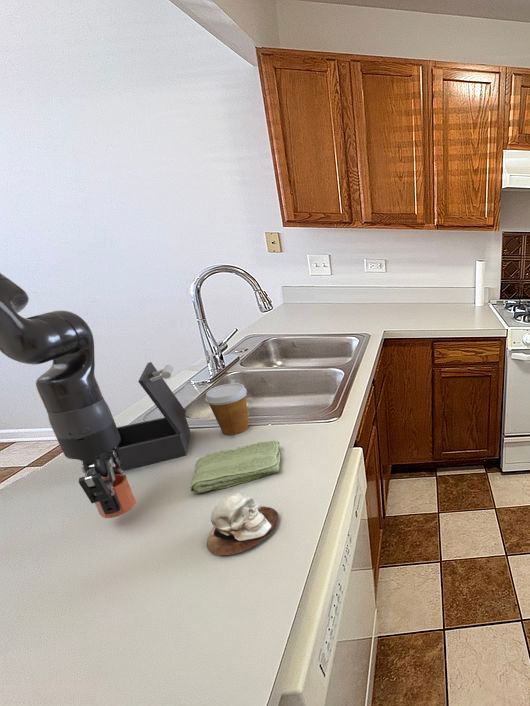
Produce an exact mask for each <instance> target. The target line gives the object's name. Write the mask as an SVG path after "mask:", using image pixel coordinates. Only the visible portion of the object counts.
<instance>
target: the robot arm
mask: <svg viewBox="0 0 530 706" xmlns="http://www.w3.org/2000/svg"><path fill="white" fill-rule="evenodd" d="M29 300H30V297H29V294H28V292H26V291H25V290H24V289H23V287H21V286H20V285H18V284H17V283H16V282H15V281H12V280H11V279H10V278H9V277H7V276H6V275H4V274H3V272H2V273H1V272H0V352H1V354H3V356H6V357H7V358H8V359H11V360H13V361H14V362H18V363H21V364H25V365H31V366H33V365H34V366H35V365H43V364H45V363H48V362H51V361H52V364H51V366H50V368H49V369H48V370H46V371H45V372H43V373H42V374H41V375H40V376H39V377H38V378H37V379H36V380H35V387H36V390H37V393H38V395H39V398H40V400H41V402H42V404H43V407H44V408H45V411H46V413H47V416H48V421H49V425H50V427H51V429H52V431H53V434H54V436H55V437H56V440H57V442H58V444H59V446H60V449H61V451H62V453H63V455H64V457H65V458H67V459H69V460H77V461H81V462H82V464H81V470H82V473H83V474H85V476H82V477H79V478H78V484H79V485H80V487H81V488H82V490H83V491H84V493H85V495H86V496H87V498H88V500H89V501H90V503H91V504H95V503H96V502H100V504H101V506H102V509H103V511H104V513H105V514H112V513H115V512H118V511H120V508H121V506H120V503H119V501H118V499H117V496H116V494H115V491H114V487H113V482H114V481H115V475H116V474H123V475H124V471H123V470H122V468H121V467H123V466H124V462H123V460H122V457H121V453H120V450H119V447H118V444H119V443H120V441H121V437H120V434H119V432H118V429H117V427H118V426H117V424H116V422H115V419H114V417H113V414H112V411H111V408H110V406H109V405H108V403H107V402H106V399H105V398H104V396H103V394H102V391H101V389H100V386H99V384H98V380H97V378H96V375H95V369H96V368H95V367H96V365H95V364H96V363H95V362H96V361H95V339H94V334H93V332H92V329H91V327H90V325H88V322H86V321H85V319H84V318H82V317H81V316H79V315H78V314H76V313H74V312H72V311H69V310H53V311H49V312H44V313H42V314H37V315H32V316H29V317H24V316H22V315H20V314H19V313H20V312H21V311H22V310H24V309H25V308H26V307H27V305H28V303H29ZM105 477H109V478H108V479H106V480H103V478H105ZM106 485H107V486H106ZM107 487H108V488H107Z"/></svg>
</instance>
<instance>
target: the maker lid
mask: <svg viewBox="0 0 530 706" xmlns="http://www.w3.org/2000/svg"><path fill="white" fill-rule="evenodd" d="M173 372H174V366H173V365H171V364H166V365H164V367H163V368H162V369H159V370H157V368H156V366H155V365H154V364H153V362H152V361H149V362H147V363H146V365H145V367H144V369H143V371H142V373H141V375H140V377H139V379H138V383H139V385H140V386H141V388H142V389H143V390H144V392H145V393H146V394H147V395H148V397H149V399H150V400H151V401H152V403H154V406H156V407H157V409H158V410H159V412H160V413H161V414H162V416H163V418H164V417H165V418H166V420H167V421H168V422H169V424H170V425H171V426H172V428H173V429H174V430H175V432H176V433H177V434H179V433H181V430H182V425H183V421H184V416H186V409H185V408H184V406H183V405H182V403H180V401H179V399H178V398H177V397H176V395H175V394H174V392H173V391H172V390H171V388H170V387H169V385H168V384H167V382H166V381H165V380H167V379H170V378H171V377H172V374H173ZM164 379H165V380H164Z"/></svg>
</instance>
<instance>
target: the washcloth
mask: <svg viewBox="0 0 530 706" xmlns="http://www.w3.org/2000/svg"><path fill="white" fill-rule="evenodd" d="M279 447H280V441H279V440H269V441H260V442H259V441H258V442H255V443H251V444H247V445H244V446H243V445H242V446H239V447H236V448H233V449H232V448H231V449H228V450H220V451H217V452H213V453H208V454H205V455H203V456H201V457H199V458H198V459H197V460H196V461H195V469H194V474H195V475H194V476H193V477H192V479H191V481H190V485H189V491H190V493H192V494H203V493H206V492H209V491H213V490H214V491H215V490H220V489H223V490H225V489H227V488H230V487H233V486H236V485H237V486H238V485H240V484H243V483H248V482H252V481H255V480H256V479H257V480H258V479H260V478H263V477H264V478H265V477H266V476H269V475H273V474H276V473H278V472H280V461H281V453H280V451H279V450H280V449H279Z"/></svg>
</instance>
